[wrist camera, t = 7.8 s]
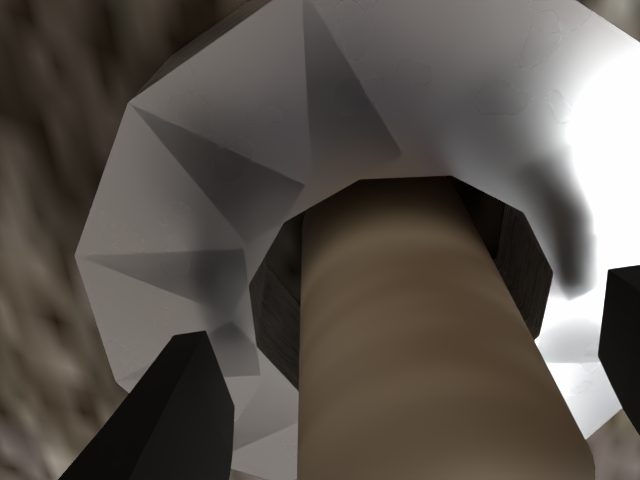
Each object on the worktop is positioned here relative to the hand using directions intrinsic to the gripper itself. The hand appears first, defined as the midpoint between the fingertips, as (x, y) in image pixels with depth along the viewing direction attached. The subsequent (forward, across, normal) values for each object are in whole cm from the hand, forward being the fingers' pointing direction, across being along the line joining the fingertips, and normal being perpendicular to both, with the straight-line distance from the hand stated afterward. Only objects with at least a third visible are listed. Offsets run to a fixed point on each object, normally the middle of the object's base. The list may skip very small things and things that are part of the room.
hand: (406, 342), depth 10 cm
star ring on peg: (+4, 0, 0) cm, 4 cm away
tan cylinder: (+4, 0, 0) cm, 4 cm away
